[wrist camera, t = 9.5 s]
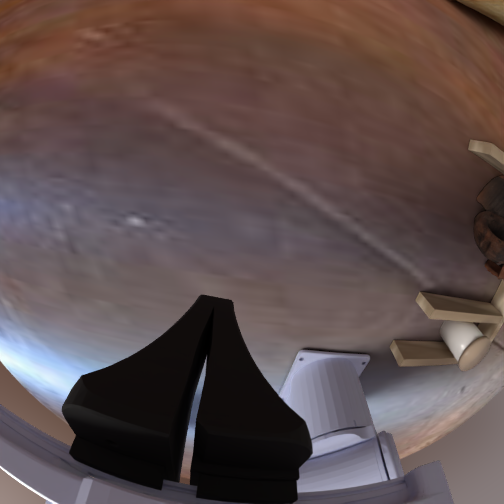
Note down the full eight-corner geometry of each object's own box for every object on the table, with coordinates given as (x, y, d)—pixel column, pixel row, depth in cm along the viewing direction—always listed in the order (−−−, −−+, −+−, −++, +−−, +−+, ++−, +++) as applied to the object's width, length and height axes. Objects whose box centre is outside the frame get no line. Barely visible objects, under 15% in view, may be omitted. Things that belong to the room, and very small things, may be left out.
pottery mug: (515, 166, 17) (563, 220, 12) (483, 227, 24) (520, 278, 19) (468, 172, 15) (537, 252, 10) (427, 252, 22) (472, 321, 17)
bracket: (467, 347, 26) (478, 361, 23) (389, 346, 25) (399, 366, 22) (535, 191, 17) (552, 199, 14) (470, 139, 16) (492, 143, 13)
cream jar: (454, 339, 25) (475, 369, 20) (432, 339, 25) (453, 372, 20) (472, 310, 23) (496, 338, 18) (450, 307, 23) (476, 339, 18)
